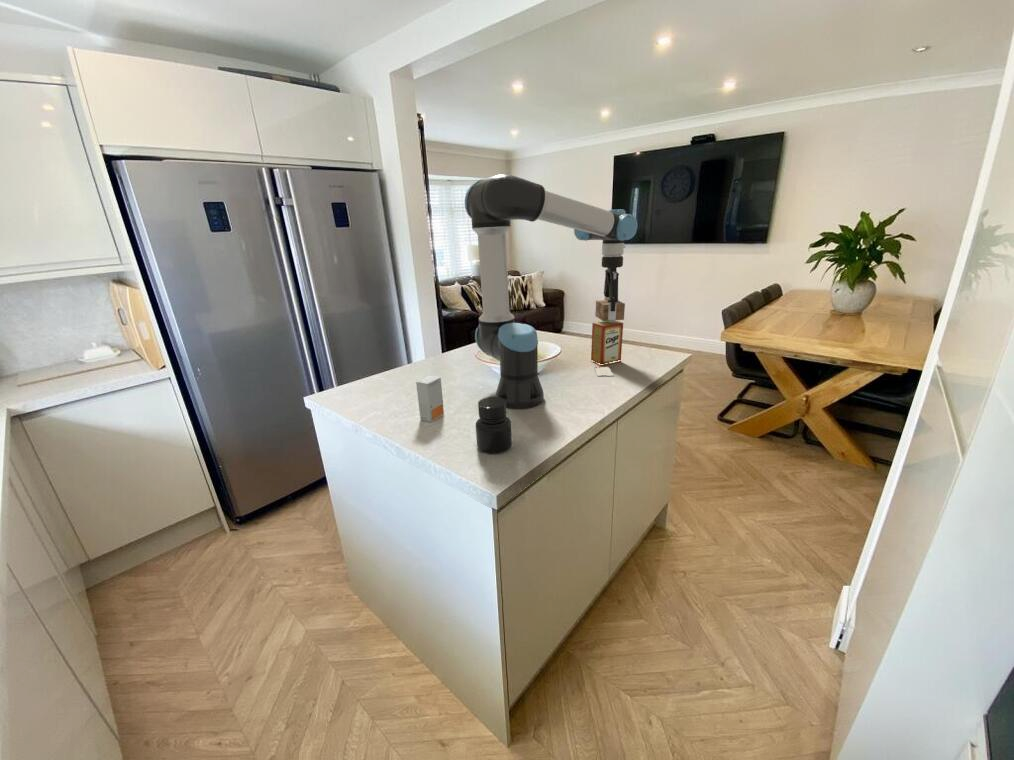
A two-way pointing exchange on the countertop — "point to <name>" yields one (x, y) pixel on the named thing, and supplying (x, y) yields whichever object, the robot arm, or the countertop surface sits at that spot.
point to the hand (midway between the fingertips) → (609, 316)
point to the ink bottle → (493, 426)
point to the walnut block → (603, 310)
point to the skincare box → (430, 398)
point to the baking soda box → (606, 341)
